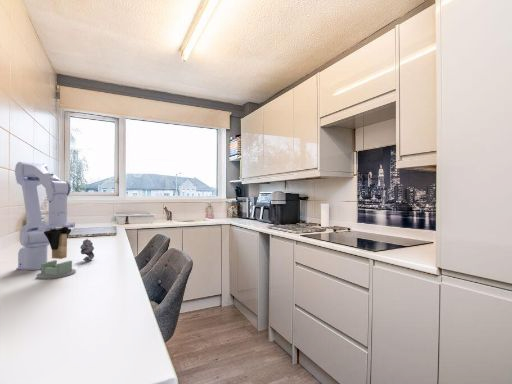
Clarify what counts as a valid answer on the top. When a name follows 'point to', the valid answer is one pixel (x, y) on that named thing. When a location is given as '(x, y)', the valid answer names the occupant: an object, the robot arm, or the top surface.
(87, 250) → the grey lumpy tree figurine
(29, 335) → the top surface
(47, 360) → the top surface
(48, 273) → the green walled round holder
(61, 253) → the tan wooden block
